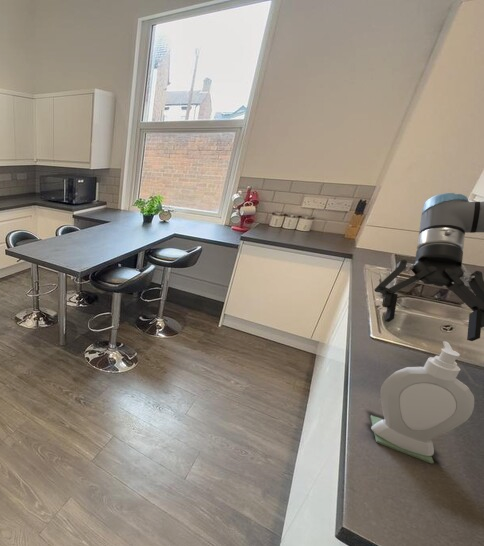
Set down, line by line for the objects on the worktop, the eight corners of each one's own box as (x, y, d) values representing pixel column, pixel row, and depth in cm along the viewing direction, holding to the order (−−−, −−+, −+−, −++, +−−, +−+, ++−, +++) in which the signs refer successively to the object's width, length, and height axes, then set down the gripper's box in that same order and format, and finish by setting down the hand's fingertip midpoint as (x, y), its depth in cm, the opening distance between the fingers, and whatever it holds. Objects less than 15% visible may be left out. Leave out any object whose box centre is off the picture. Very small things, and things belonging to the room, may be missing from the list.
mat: (420, 434, 72) (422, 433, 72) (432, 464, 65) (434, 462, 65) (370, 416, 77) (370, 414, 77) (376, 442, 70) (377, 440, 70)
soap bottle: (438, 443, 70) (494, 353, 61) (444, 467, 64) (508, 373, 55) (362, 412, 77) (402, 329, 68) (362, 432, 72) (406, 344, 63)
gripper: (377, 234, 80) (364, 307, 75) (531, 253, 67) (528, 344, 62) (367, 248, 86) (353, 317, 81) (506, 268, 73) (501, 352, 68)
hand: (429, 329), depth 71 cm, fingers open, 13 cm apart
